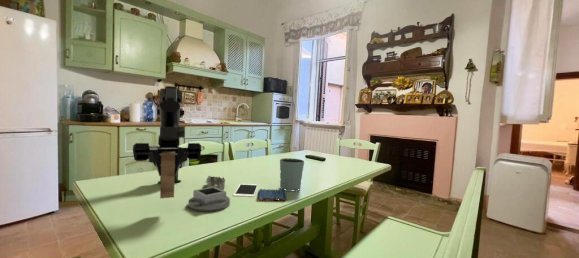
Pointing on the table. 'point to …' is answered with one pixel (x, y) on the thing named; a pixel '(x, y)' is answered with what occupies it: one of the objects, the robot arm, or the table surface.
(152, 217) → the table surface
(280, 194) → the woven mat
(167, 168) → the brown wooden square peg
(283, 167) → the grey cup
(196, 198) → the rosette socket
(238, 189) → the cell phone
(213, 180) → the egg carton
